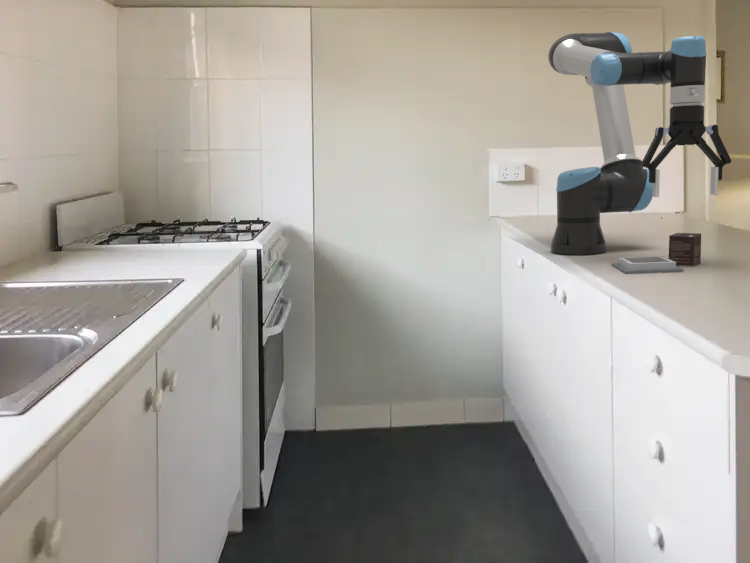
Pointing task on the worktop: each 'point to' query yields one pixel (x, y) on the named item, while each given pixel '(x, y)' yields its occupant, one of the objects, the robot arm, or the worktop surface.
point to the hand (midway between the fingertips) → (684, 195)
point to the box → (685, 248)
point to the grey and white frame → (646, 265)
